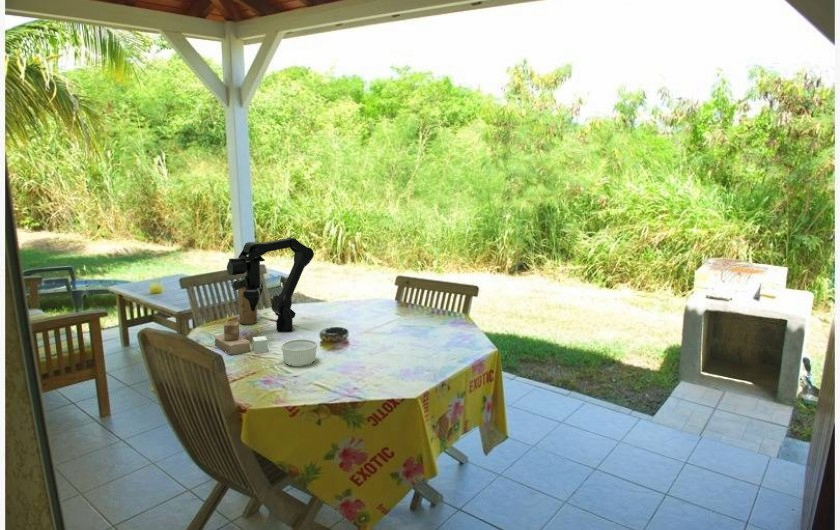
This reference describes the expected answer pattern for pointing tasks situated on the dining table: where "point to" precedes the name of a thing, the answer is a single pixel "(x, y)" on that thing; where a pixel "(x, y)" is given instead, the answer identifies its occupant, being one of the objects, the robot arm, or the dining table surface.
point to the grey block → (260, 344)
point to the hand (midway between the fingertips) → (254, 308)
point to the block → (246, 309)
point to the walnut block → (231, 331)
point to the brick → (232, 345)
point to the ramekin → (299, 351)
